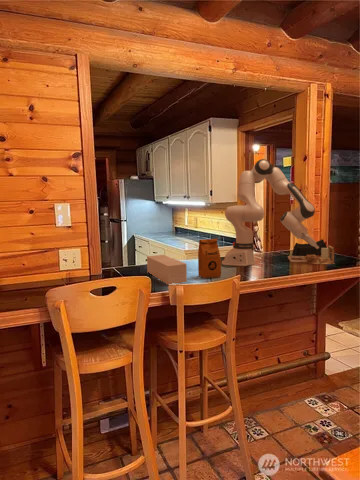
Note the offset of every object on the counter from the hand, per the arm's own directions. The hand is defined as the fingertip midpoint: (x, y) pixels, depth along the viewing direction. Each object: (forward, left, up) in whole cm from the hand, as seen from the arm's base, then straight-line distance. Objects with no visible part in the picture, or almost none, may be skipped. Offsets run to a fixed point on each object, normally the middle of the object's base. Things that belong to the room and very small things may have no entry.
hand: (316, 246), depth 214 cm
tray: (-11, +4, -11) cm, 16 cm away
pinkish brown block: (-91, -45, -11) cm, 102 cm away
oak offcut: (-3, -2, -7) cm, 8 cm away
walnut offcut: (-3, -2, -10) cm, 10 cm away
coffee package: (-66, -41, -11) cm, 78 cm away
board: (+5, -2, -10) cm, 11 cm away
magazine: (+2, +27, -11) cm, 29 cm away
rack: (+2, -2, -11) cm, 11 cm away
